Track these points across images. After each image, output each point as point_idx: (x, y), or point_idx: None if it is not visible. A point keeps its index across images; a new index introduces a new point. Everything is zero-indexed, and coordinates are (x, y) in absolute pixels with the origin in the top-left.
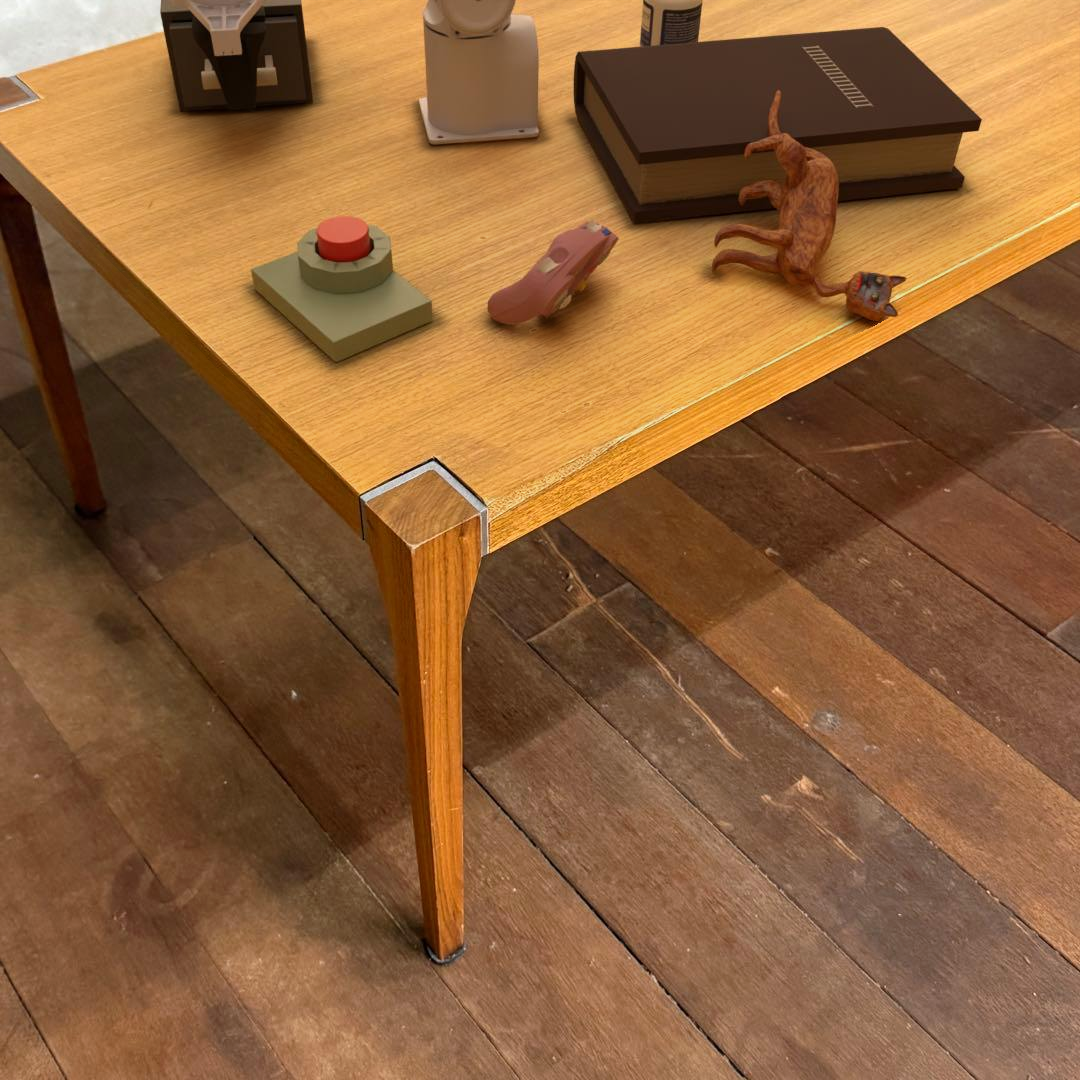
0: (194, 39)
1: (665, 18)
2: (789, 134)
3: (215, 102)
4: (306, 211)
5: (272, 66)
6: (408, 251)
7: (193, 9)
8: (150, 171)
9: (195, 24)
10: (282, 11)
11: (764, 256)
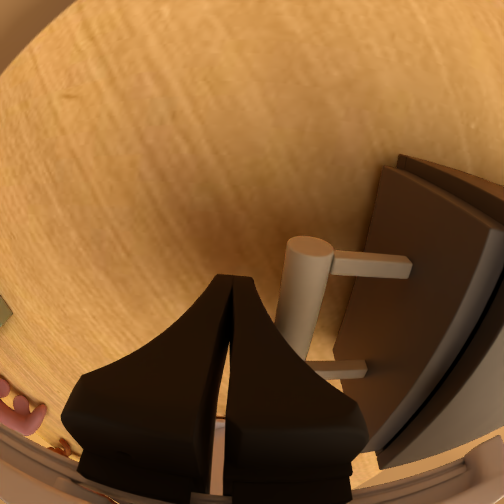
0: (82, 384)
1: None
2: (117, 501)
3: (373, 225)
4: (59, 297)
5: None
6: (28, 350)
7: (22, 501)
8: (171, 79)
9: (151, 440)
10: (392, 447)
11: (66, 453)
